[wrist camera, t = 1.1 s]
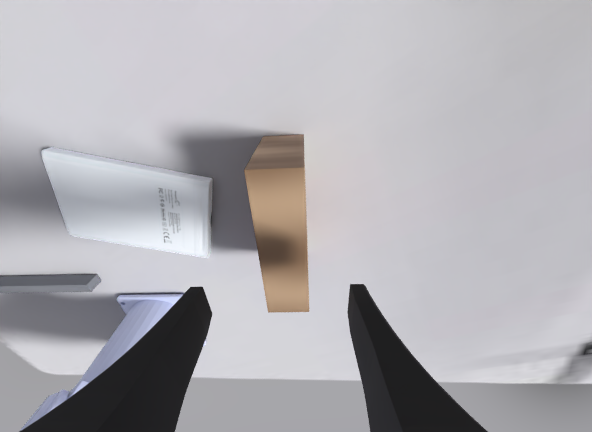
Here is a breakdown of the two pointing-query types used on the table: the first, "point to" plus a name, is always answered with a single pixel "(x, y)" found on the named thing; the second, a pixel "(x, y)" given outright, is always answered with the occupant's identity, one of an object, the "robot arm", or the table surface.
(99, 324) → the table surface
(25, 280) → the dock frame
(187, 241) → the external hard drive
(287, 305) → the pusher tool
